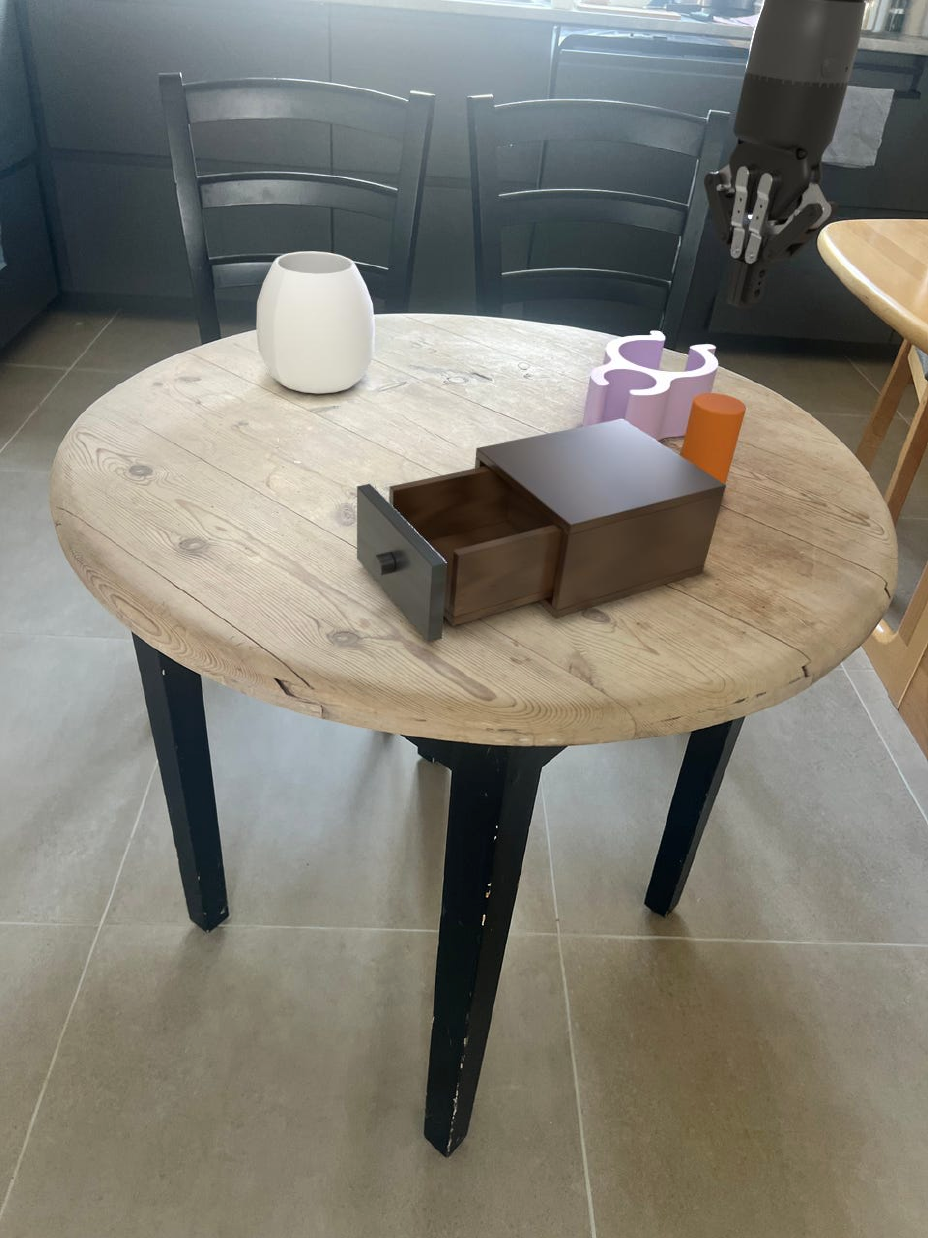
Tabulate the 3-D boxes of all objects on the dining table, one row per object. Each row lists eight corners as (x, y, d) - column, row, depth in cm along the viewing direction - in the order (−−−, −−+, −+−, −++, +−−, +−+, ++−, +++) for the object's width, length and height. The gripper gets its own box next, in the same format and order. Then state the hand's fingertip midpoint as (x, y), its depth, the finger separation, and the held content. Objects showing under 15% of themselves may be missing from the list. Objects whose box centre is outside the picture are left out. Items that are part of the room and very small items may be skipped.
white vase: (397, 381, 107) (400, 263, 99) (320, 415, 98) (317, 289, 90) (315, 351, 113) (311, 238, 105) (235, 380, 104) (225, 259, 96)
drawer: (413, 647, 66) (417, 570, 62) (343, 562, 74) (342, 488, 70) (586, 595, 73) (599, 522, 69) (504, 522, 81) (511, 453, 77)
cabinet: (555, 618, 72) (570, 525, 66) (468, 535, 81) (475, 447, 76) (702, 573, 78) (726, 485, 73) (607, 501, 88) (622, 418, 82)
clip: (659, 468, 94) (673, 406, 90) (552, 434, 98) (561, 373, 94) (721, 407, 108) (736, 350, 104) (625, 380, 113) (635, 325, 108)
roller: (693, 514, 87) (718, 417, 81) (661, 492, 90) (682, 396, 84) (730, 504, 89) (757, 409, 83) (697, 483, 92) (720, 389, 86)
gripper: (904, 83, 65) (830, 325, 75) (769, 60, 74) (719, 278, 84) (832, 83, 61) (765, 335, 72) (699, 59, 70) (657, 286, 81)
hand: (740, 304), depth 78 cm, fingers closed
